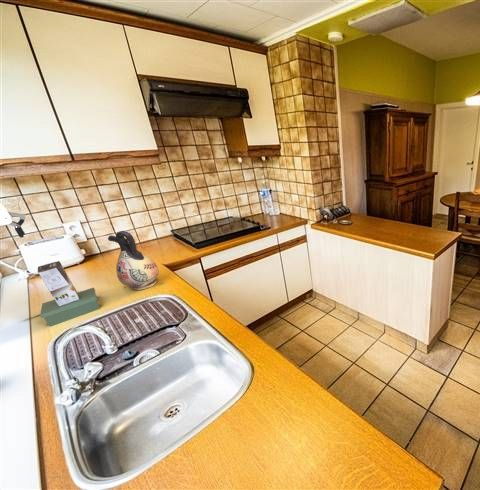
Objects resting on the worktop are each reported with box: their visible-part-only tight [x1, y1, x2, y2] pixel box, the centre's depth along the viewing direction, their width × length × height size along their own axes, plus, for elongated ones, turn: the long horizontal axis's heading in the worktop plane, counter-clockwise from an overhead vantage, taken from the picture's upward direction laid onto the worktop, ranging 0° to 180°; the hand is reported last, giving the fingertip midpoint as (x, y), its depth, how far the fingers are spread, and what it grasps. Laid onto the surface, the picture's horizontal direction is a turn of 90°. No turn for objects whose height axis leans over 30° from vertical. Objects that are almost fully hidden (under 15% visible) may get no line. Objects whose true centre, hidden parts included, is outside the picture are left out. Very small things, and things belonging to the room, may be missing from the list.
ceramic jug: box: [107, 230, 159, 291], centre depth 127 cm, size 17×15×30 cm
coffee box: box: [37, 260, 79, 306], centre depth 110 cm, size 9×6×16 cm
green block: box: [39, 287, 101, 327], centre depth 114 cm, size 16×12×6 cm
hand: (2, 240), depth 102 cm, fingers open, 9 cm apart
